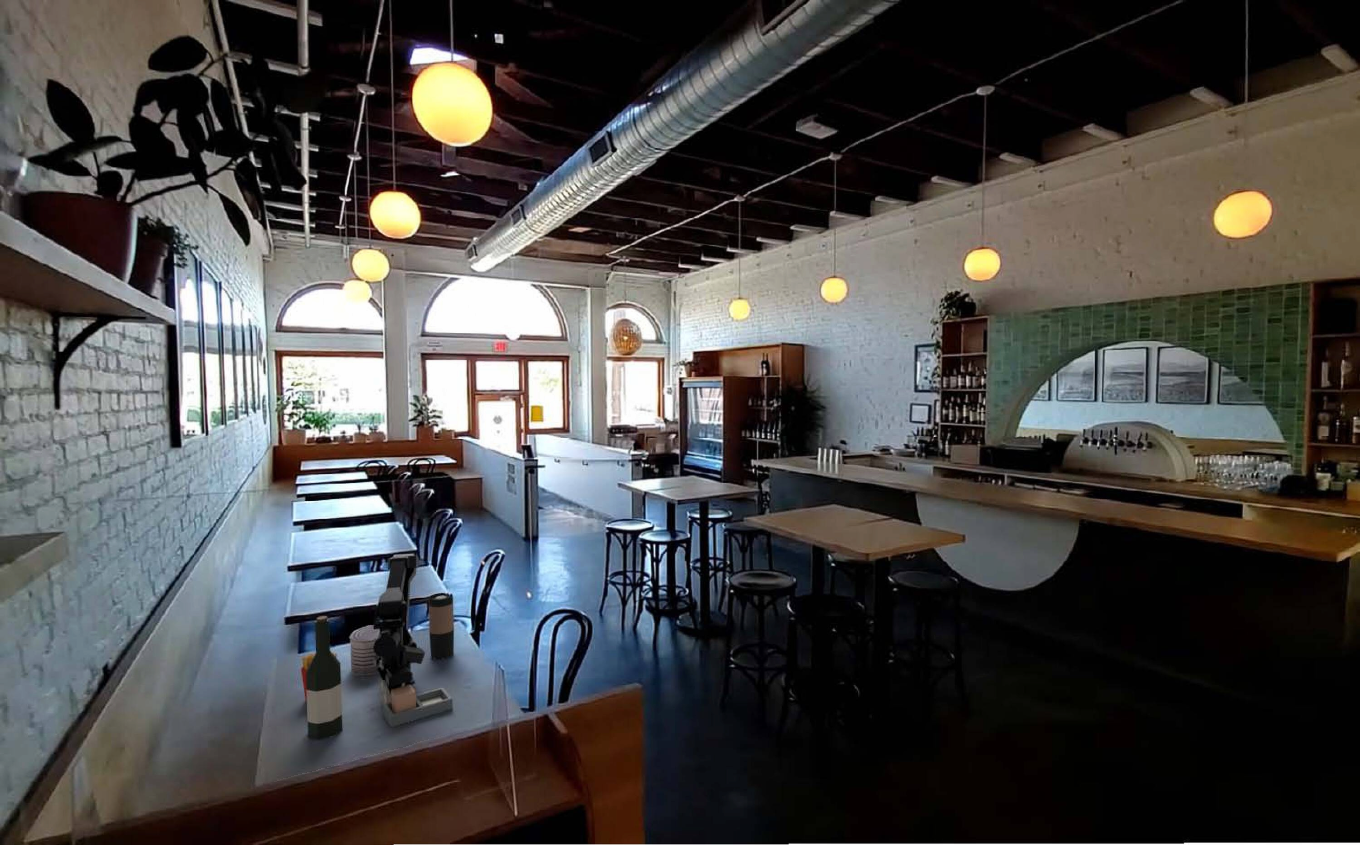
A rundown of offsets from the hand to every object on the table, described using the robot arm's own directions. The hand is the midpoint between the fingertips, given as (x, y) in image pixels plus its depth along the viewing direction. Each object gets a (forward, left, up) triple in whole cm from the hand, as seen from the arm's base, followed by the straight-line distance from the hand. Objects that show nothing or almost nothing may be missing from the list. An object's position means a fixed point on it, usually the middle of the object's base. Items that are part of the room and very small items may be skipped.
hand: (393, 696), depth 183 cm
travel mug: (-24, +21, -2) cm, 32 cm away
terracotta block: (+10, 0, 0) cm, 10 cm away
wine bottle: (+6, -18, -2) cm, 19 cm away
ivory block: (0, 0, -2) cm, 2 cm away
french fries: (-15, -16, -2) cm, 22 cm away
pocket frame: (+10, +4, -2) cm, 11 cm away
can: (-28, 0, -2) cm, 28 cm away
